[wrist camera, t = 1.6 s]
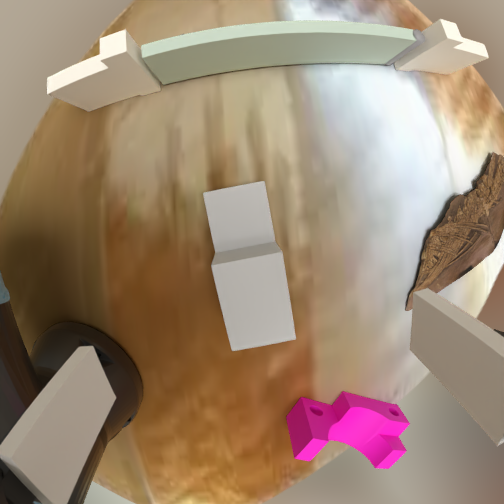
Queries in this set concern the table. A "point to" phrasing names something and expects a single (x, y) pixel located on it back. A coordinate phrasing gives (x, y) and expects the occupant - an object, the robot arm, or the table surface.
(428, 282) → the wooden fragment
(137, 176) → the table surface
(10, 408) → the robot arm
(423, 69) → the wall frame
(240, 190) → the white stepped block
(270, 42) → the spring door
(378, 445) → the magenta saddle bracket
